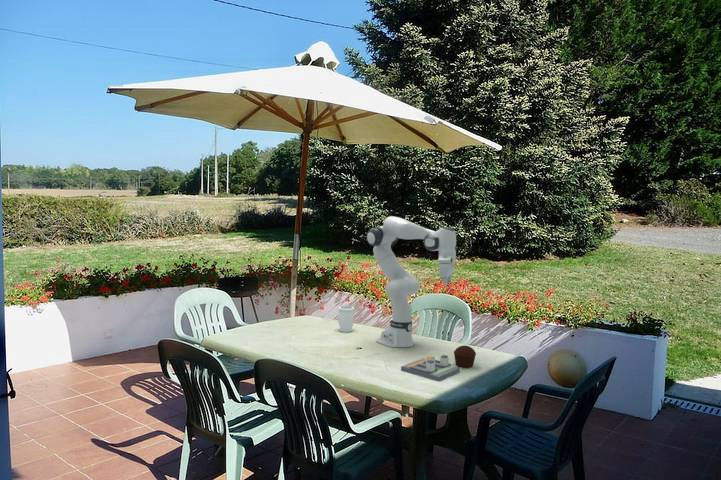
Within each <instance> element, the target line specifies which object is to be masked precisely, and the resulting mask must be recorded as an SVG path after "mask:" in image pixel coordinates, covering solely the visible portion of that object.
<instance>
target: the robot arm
mask: <svg viewBox="0 0 721 480" xmlns="http://www.w3.org/2000/svg"><path fill="white" fill-rule="evenodd" d="M382 223H383V225H381V226H375V227H373V228H371V229H369V230H368V231H367V232H366V240H367V242H368V244H369V245H370V246H371V247H372V246H373V248H372V249H373V250H372V253H373V255H374V257H375V260H376V262H377V264H378V266H379V268H380V270H381V271H382V273H383V275H384V276H385V277H387V278H388V279H390V281H388V282H387V283H386V285H385V287H384V288H385V289H384V290H385V291H384V292H385V294H386V296H387V297H388V298H389V299H390V303H391V306H392V319H391V320H389V321H388V323H389V324H390V325H389V326H387V327H386V328H385V329H383V330H382V331H381V333H380V337H379V338H377V339H376V343H379V344H381V345H384V346H387V347H389V348H409V347H414V345H415V344H414V339H413V331H412V330H413V320H412V318H413V317H412V315H413V312H412V311H413V309H412V308H413V307H412V306H411V305H410V304H409V301H408V297H410V296H413V295H415V294H416V293H418V292H419V291H420V289H421V287H420V281H419V280H418V279H417V278H415V277H413V276H412V275H411V274H410V273H408V271H406V269H405V268H404V267H403V265H401V263H400V262H399V260H398V258H397V257H396V254H395V253H394V251H393V250H392V247H391V246H395V245H396V243H397V242H398V241H399V239H401V240H423V246H424V248H425V249H426V250H428V251H431V252H437V251H438V259H437V263H438V270H439V278H440V279H442V286H444V287H447V286H448V284H451V282H452V281H451V280H452V275H453V274H454V272H455V269H454V268H455V267H454V265H455V263H457V262H456V261H457V251H456V246H457V233H456V230H455V229H454V228H452V227H447V226H441V227H439V229H437V230H436V231H435V230H433V229H429V228H426V227H425V226H421V225H419V224H416V223H414V222H412V221H410V220H408V219H404V218H402V217H398V216H393V215H390V216H387V217H386V218H385V219H384V220H383V222H382Z"/></svg>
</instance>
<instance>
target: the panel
mask: <svg viewBox="0 0 721 480" xmlns="http://www.w3.org/2000/svg"><path fill="white" fill-rule="evenodd" d="M400 370H401V371H402V372H406V373H408V374H412V375H417V376H419V377H423V378H426V379H430V380H434V381H437V382H440V381H442V380H444V379H446V378H449V377H451V376H454V375H456V374H458V373H460V372H461V367H458V366H456V365H452V363H449V365H447V366H442V365H440V360H437V359H435V371H432V372H429V371H426V358H420V359H416V360H415V361H412V362H410V363H407V364H403V365H401V367H400Z"/></svg>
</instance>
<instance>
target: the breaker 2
mask: <svg viewBox="0 0 721 480" xmlns="http://www.w3.org/2000/svg"><path fill="white" fill-rule="evenodd" d="M449 360H450V357H449V355H447V354H443V355H441V356H440V357H439V361H440V365H442V366H447V365H449V364H450V362H449Z"/></svg>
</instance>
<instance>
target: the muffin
mask: <svg viewBox="0 0 721 480" xmlns="http://www.w3.org/2000/svg"><path fill="white" fill-rule="evenodd" d="M453 354H454V355H453V356H454V363H455V367H459V368H460V369H472V368H473V367H474V364H475V363H474V362H475V359H476V355H477V352H476V351H475V349H474V348H473V347H471V346H468V345H459V346H458V347H457V348H455V350H454V351H453Z"/></svg>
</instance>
